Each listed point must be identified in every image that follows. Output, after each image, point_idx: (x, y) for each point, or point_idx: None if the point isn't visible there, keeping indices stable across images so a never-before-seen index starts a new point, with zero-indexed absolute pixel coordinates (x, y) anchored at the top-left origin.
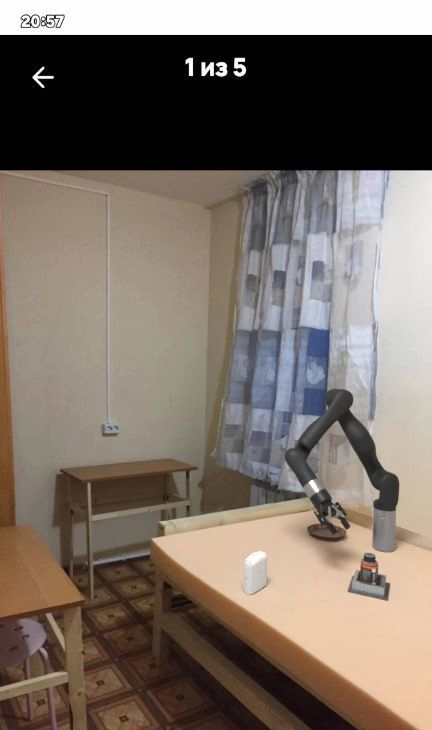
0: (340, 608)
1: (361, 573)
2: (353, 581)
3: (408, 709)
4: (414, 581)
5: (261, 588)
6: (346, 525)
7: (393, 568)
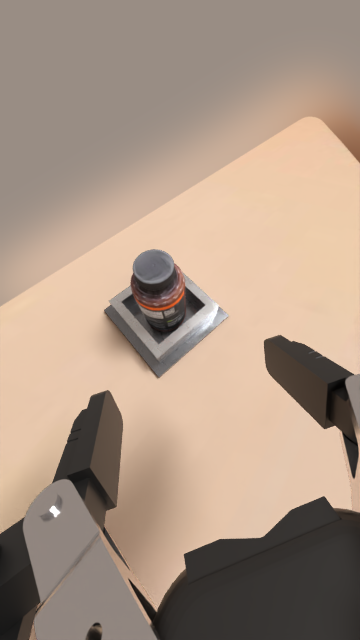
0: (283, 271)
1: (184, 302)
2: (216, 304)
3: (312, 125)
4: (41, 302)
5: None
6: (110, 418)
7: (11, 375)
